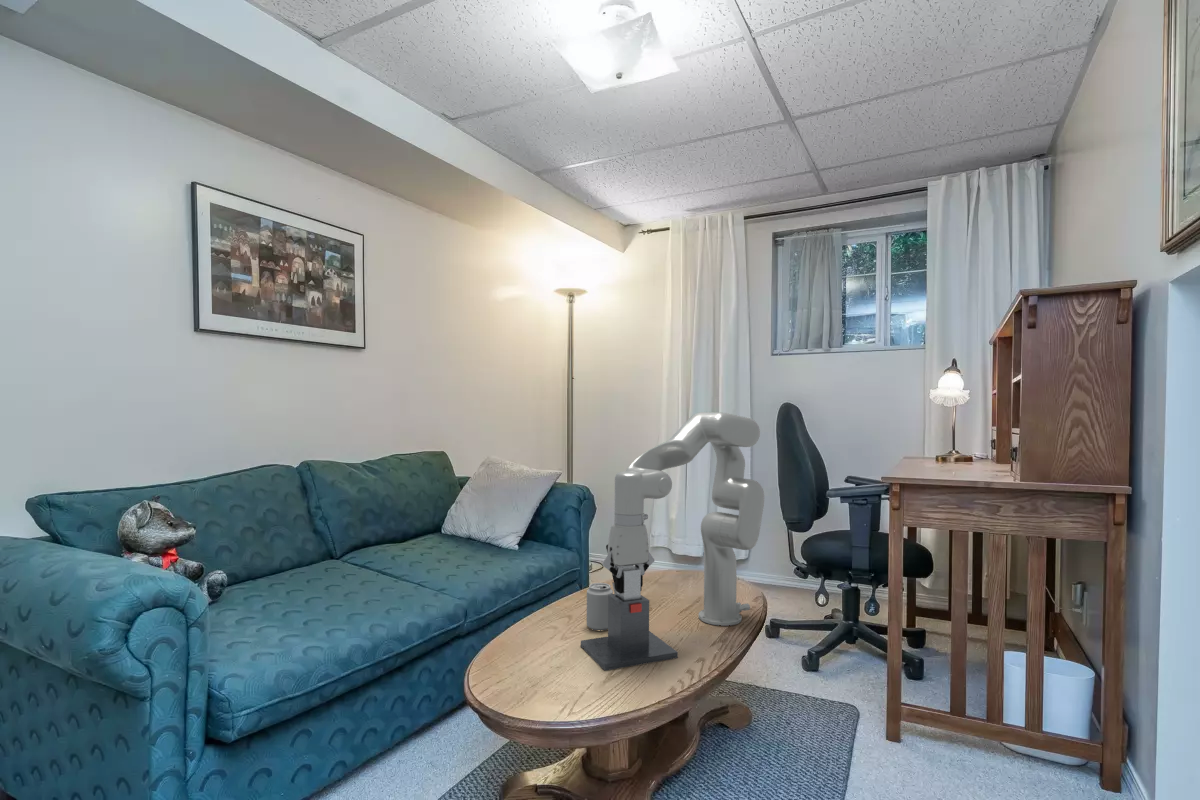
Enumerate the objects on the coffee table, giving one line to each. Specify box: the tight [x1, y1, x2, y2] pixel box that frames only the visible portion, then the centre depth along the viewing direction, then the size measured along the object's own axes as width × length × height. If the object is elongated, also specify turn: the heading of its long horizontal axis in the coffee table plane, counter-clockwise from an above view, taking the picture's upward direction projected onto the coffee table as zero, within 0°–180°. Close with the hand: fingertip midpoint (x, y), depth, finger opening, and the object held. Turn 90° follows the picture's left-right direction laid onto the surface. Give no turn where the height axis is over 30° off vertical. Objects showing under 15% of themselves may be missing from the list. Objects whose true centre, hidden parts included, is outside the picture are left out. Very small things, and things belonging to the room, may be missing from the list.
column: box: [617, 565, 642, 602], centre depth 156 cm, size 5×5×20 cm
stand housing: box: [580, 593, 679, 671], centre depth 156 cm, size 20×16×14 cm
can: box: [586, 582, 614, 632], centre depth 174 cm, size 8×8×12 cm
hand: (628, 590), depth 157 cm, fingers closed on column, 4 cm apart
